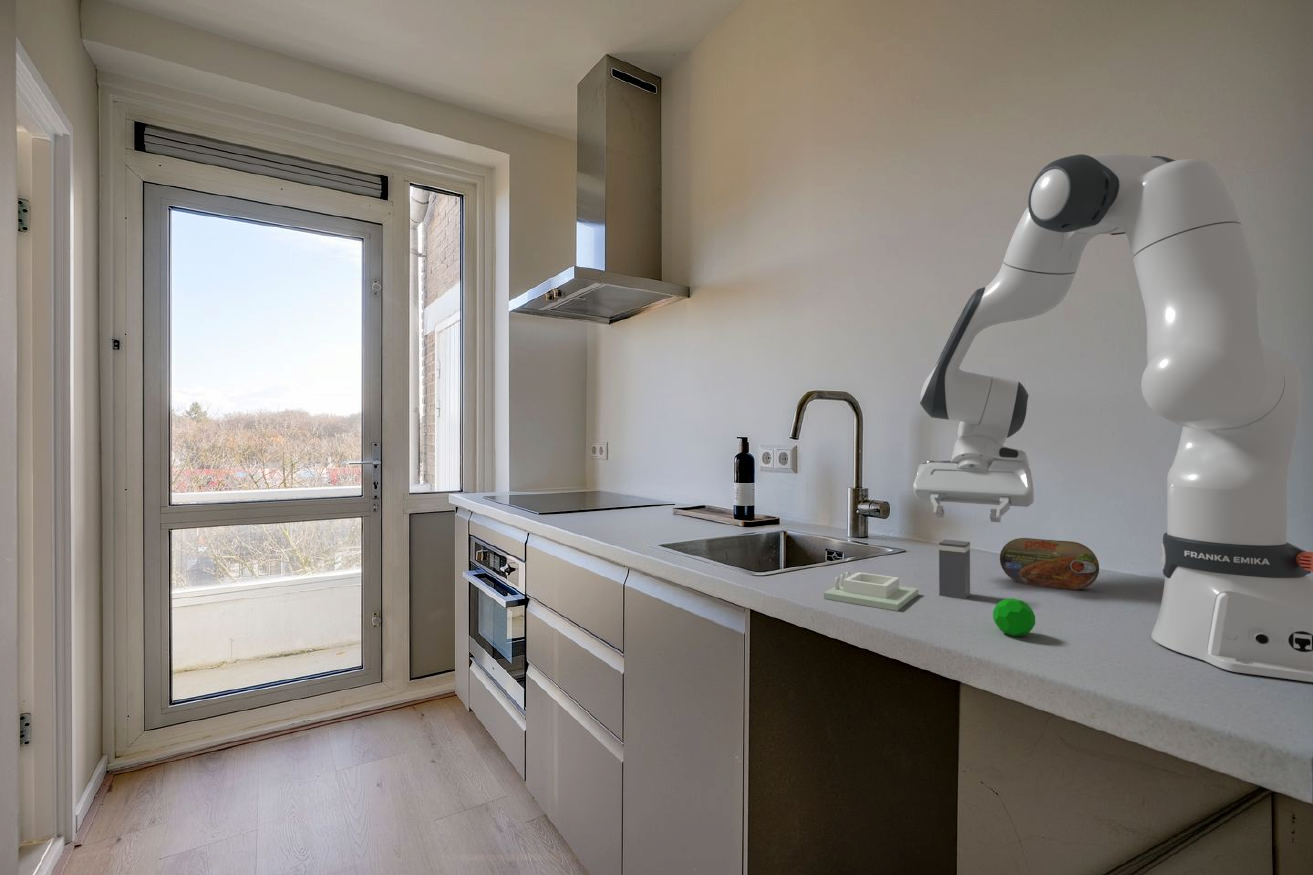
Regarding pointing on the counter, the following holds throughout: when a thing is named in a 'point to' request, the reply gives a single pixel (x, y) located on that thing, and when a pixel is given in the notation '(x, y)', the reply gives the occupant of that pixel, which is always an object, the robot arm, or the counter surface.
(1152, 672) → the counter surface
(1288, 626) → the robot arm
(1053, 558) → the tin
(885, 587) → the board
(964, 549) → the dark grey tall block
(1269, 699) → the counter surface
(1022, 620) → the polyhedron
